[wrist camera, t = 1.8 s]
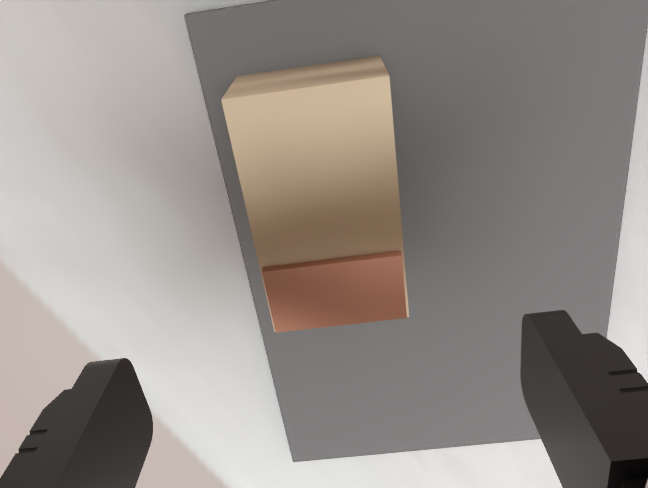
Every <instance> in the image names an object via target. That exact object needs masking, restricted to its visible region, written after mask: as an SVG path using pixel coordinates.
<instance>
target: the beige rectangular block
mask: <svg viewBox="0 0 648 488" xmlns="http://www.w3.org/2000/svg"><path fill="white" fill-rule="evenodd" d="M221 101H222V106H223V110H224V114H225V119H226V123H227V127H228V132H229V136H230V141H231V145H232V149H233V154H234V158H235V162H236V167H237V171H238V175H239V180H240V184H241V188H242V193H243V197H244V201H245V206H246V210H247V215H248V219H249V223H250V228H251V232H252V236H253V241H254V245H255V249H256V254H257V258H258V262H259V267H260V271H261V275H262V280H263V284H264V289H265V293H266V297H267V302H268V306H269V310H270V315H271V319H272V323H273V328H274V332H276V333H277V332H286V331H295V330H304V329H313V328H322V327H331V326H340V325H349V324H358V323H367V322H376V321H385V320H394V319H403V318H407V317H409V308H408V296H407V284H406V272H405V259H404V247H403V235H402V223H401V211H400V199H399V186H398V174H397V162H396V150H395V138H394V126H393V113H392V101H391V89H390V77H389V74H388V72H387V70H386V67H385V65H384V63H383V61H382V59H381V57H380V56H373V57H366V58H359V59H352V60H345V61H338V62H331V63H324V64H318V65H311V66H304V67H297V68H290V69H283V70H276V71H269V72H262V73H255V74H249V75H242V76H237V77H236V78H235V80H234V81H233V83H232V84H231V86H230V87H229V89H228V90H227V92H226V93H225V95H224V96H223V98H222V99H221Z"/></svg>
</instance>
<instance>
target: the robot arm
mask: <svg viewBox="0 0 648 488" xmlns="http://www.w3.org/2000/svg"><path fill="white" fill-rule="evenodd" d="M520 378H521V386H522V392H523V396H524V400H525V403H526V405H527V408H528V410H529V412H530V415H531V417H532V419H533V421H534V424H535V426H536V428H537V430H538V433H539V435H540V437H541V439H542V442H543V444H544V446H545V448H546V451H547V453H548V455H549V457H550V460H551V462H552V464H553V466H554V469H555V471H556V473H557V475H558V478H559V480H560V482H561V484H562V487H563V488H648V383H647V382H646V380H645V379H644V378H643V376H642V375H641V374H640V373H638V372H637V368H636V367H635V366H634V364H633V363H632V362H631V360H630V359H629V358H628V356H627V355H626V354H625V352H624V351H623V350H622V349H621V348H620V347H618V346H617V345H615V344H614V343H612V342H611V341H609V340H608V339H606V338H605V337H603V336H602V335H600V334H599V333H589V334H582V333H581V332H580V330H579V329H578V327H577V326H576V324H575V323H574V322H573V320H572V319H571V317H570V316H569V314H568V313H567V312H566V311H565V310H556V311H547V312H539V313H530V314H524V316H523V318H522V332H521V366H520ZM152 433H153V421H152V415H151V411H150V409H149V406H148V403H147V401H146V398H145V396H144V393H143V391H142V388H141V385H140V383H139V380H138V378H137V375H136V372H135V370H134V367H133V365H132V363H131V362H130V361H129V360H128V359H126V358H122V359H113V360H104V361H96V362H90V363H88V364H87V365H86V366H85V367H84V369H83V370H82V372H81V374H80V376H79V377H78V379H77V381H76V382H75V384H74V386H73V387H72V389H68V390H64V391H63V392H62V393H61V394H59V396H58V397H56V398H55V399H54V400H53V401H52V402H51V403H50V404H49V405H48V406H46V407H45V408H44V409H43V411H42V412H41V414H40V416H39V417H38V419H37V420H36V422H35V423H34V425H33V427H32V428H31V430H30V435H28V436H26V438H25V440H24V441H23V443H22V444H21V446H20V448H19V453H18V454H15V456H14V457H13V459H12V460H11V462H10V464H9V465H8V467H7V469H6V470H5V472H4V473H3V475H2V477H1V478H0V488H135V486H136V483H137V480H138V477H139V475H140V472H141V469H142V467H143V464H144V461H145V458H146V455H147V453H148V450H149V447H150V444H151V440H152Z"/></svg>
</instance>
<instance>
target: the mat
mask: <svg viewBox="0 0 648 488" xmlns="http://www.w3.org/2000/svg"><path fill="white" fill-rule="evenodd" d="M184 17H185V21H186V25H187V29H188V33H189V37H190V41H191V45H192V50H193V54H194V58H195V62H196V66H197V70H198V74H199V78H200V82H201V86H202V91H203V95H204V99H205V103H206V107H207V111H208V115H209V119H210V123H211V127H212V132H213V136H214V140H215V144H216V148H217V152H218V156H219V160H220V164H221V168H222V173H223V177H224V181H225V185H226V189H227V193H228V197H229V201H230V205H231V209H232V214H233V218H234V222H235V226H236V230H237V234H238V238H239V242H240V246H241V250H242V255H243V259H244V263H245V267H246V271H247V275H248V279H249V283H250V287H251V291H252V296H253V300H254V304H255V308H256V312H257V316H258V320H259V324H260V328H261V332H262V337H263V341H264V345H265V349H266V353H267V357H268V361H269V365H270V369H271V373H272V378H273V382H274V386H275V390H276V394H277V398H278V402H279V406H280V410H281V414H282V419H283V423H284V427H285V431H286V435H287V439H288V443H289V447H290V451H291V455H292V460H293V462H300V461H310V460H321V459H332V458H342V457H353V456H363V455H374V454H385V453H395V452H406V451H417V450H427V449H438V448H448V447H459V446H470V445H480V444H491V443H502V442H512V441H523V440H534V439H541V437H540V435H539V433H538V430H537V428H536V426H535V424H534V421H533V419H532V417H531V415H530V412H529V410H528V408H527V405H526V403H525V400H524V396H523V392H522V386H521V378H520V366H521V332H522V318H523V316H524V314H530V313H539V312H547V311H556V310H565V311H566V312H567V313H568V314H569V316H570V317H571V319H572V320H573V322H574V323H575V324H576V326H577V327H578V329H579V330H580V332H581V333H582V334H589V333H599V334H600V335H602V336H603V337H605V338H606V337H607V330H608V322H609V314H610V307H611V299H612V292H613V284H614V276H615V269H616V261H617V253H618V246H619V238H620V231H621V223H622V215H623V208H624V200H625V193H626V185H627V177H628V170H629V162H630V154H631V147H632V139H633V132H634V124H635V116H636V109H637V101H638V93H639V86H640V78H641V71H642V63H643V55H644V48H645V40H646V33H647V25H648V0H272V1H265V2H259V3H252V4H246V5H240V6H233V7H227V8H220V9H214V10H207V11H201V12H194V13H188V14H186V15H184ZM373 56H380V57H381V59H382V61H383V63H384V65H385V67H386V70H387V72H388V74H389V77H390V89H391V101H392V113H393V126H394V138H395V150H396V162H397V174H398V186H399V199H400V211H401V223H402V235H403V247H404V259H405V272H406V284H407V296H408V308H409V317H407V318H403V319H394V320H385V321H376V322H367V323H358V324H349V325H340V326H331V327H322V328H313V329H304V330H295V331H286V332H277V333H276V332H274V328H273V323H272V319H271V315H270V310H269V306H268V302H267V297H266V293H265V289H264V284H263V280H262V275H261V271H260V267H259V262H258V258H257V254H256V249H255V245H254V241H253V236H252V232H251V228H250V223H249V219H248V215H247V210H246V206H245V201H244V197H243V193H242V188H241V184H240V180H239V175H238V171H237V167H236V162H235V158H234V154H233V149H232V145H231V141H230V136H229V132H228V127H227V123H226V119H225V114H224V110H223V106H222V101H221V99H222V98H223V96H224V95H225V93H226V92H227V90H228V89H229V87H230V86H231V84H232V83H233V81H234V80H235V78H236V77H237V76H242V75H249V74H255V73H262V72H269V71H276V70H283V69H290V68H297V67H304V66H311V65H318V64H324V63H331V62H338V61H345V60H352V59H359V58H366V57H373Z"/></svg>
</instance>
